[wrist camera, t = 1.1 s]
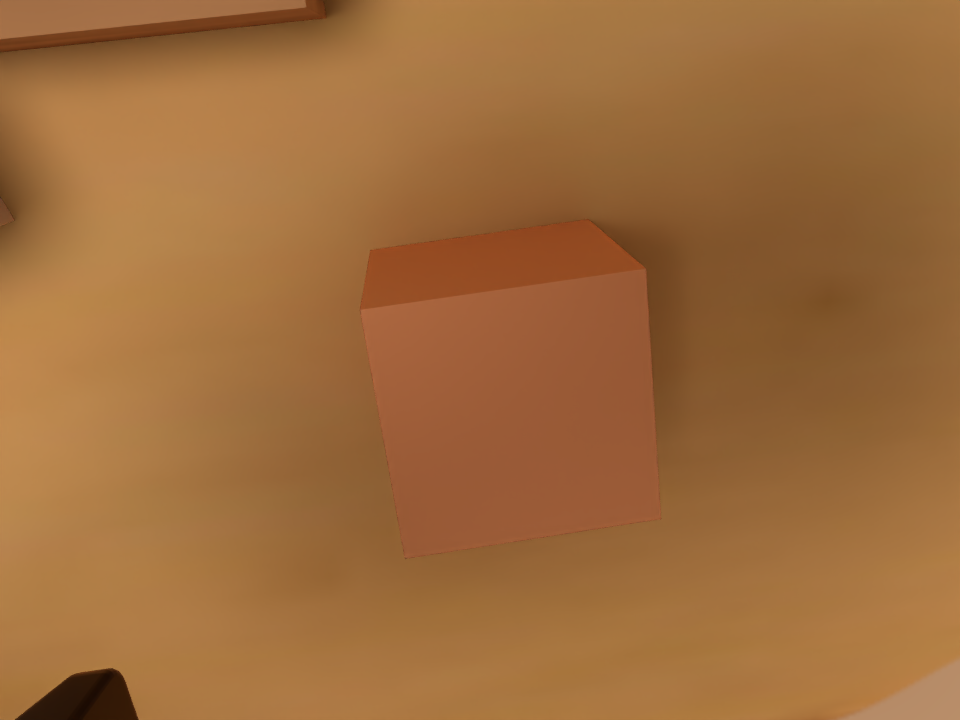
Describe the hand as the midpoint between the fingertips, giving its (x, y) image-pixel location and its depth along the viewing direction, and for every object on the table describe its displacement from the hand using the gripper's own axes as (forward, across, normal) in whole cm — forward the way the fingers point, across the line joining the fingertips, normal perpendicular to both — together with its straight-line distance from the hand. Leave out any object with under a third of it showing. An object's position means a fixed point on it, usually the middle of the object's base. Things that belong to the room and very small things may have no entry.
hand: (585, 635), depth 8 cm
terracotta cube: (+12, 0, +1) cm, 12 cm away
